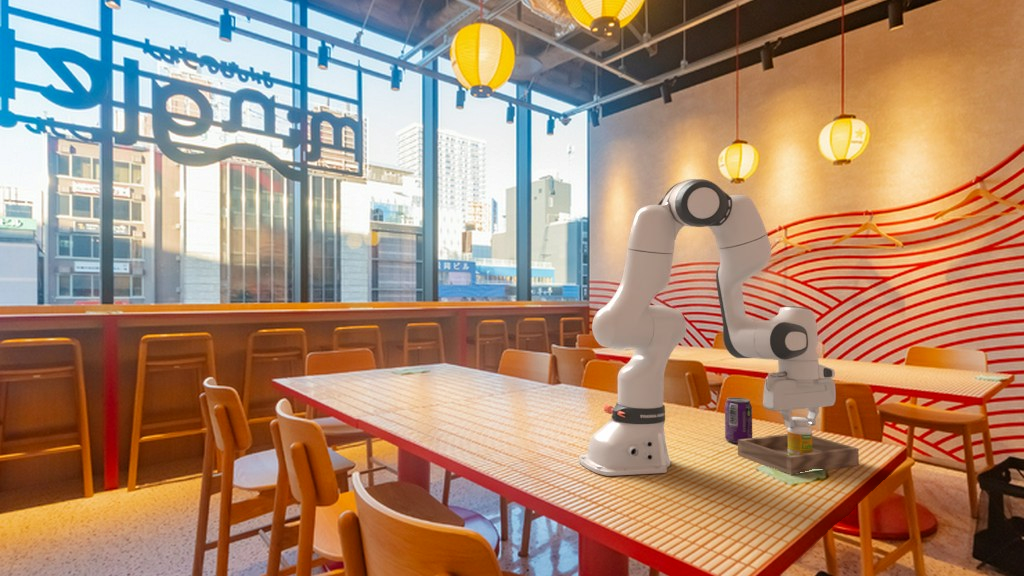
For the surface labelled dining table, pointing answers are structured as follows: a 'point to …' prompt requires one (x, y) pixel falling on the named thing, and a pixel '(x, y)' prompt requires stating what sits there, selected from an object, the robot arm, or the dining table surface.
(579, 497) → the dining table surface
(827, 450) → the serving tray
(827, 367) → the robot arm
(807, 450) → the supplement bottle
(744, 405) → the beverage can
